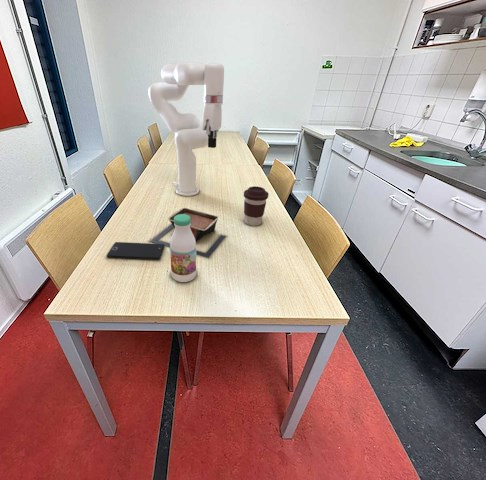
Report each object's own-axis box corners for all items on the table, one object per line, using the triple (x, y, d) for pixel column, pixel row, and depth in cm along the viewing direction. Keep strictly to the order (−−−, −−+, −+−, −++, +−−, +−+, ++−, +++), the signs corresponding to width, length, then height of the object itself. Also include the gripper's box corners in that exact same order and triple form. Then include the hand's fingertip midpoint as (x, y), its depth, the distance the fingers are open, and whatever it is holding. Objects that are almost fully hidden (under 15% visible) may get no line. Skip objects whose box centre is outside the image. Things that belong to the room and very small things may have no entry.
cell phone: (115, 244, 99) (115, 241, 98) (164, 246, 98) (164, 243, 97) (106, 257, 91) (106, 255, 90) (159, 260, 90) (159, 257, 90)
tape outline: (150, 241, 101) (150, 241, 101) (172, 223, 114) (172, 223, 114) (208, 257, 93) (208, 257, 93) (225, 236, 106) (225, 236, 105)
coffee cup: (265, 219, 119) (270, 186, 111) (262, 229, 111) (267, 195, 103) (243, 215, 122) (247, 183, 114) (238, 225, 114) (241, 191, 106)
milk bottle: (171, 267, 87) (168, 211, 77) (195, 267, 88) (195, 211, 77) (171, 283, 81) (167, 223, 70) (196, 282, 81) (197, 223, 71)
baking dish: (198, 252, 99) (203, 229, 94) (162, 231, 106) (165, 209, 101) (219, 238, 110) (224, 217, 105) (184, 220, 117) (188, 199, 112)
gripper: (212, 98, 116) (211, 143, 125) (196, 100, 104) (196, 149, 113) (228, 99, 113) (226, 145, 123) (214, 101, 101) (213, 151, 111)
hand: (212, 147), depth 118 cm, fingers closed
